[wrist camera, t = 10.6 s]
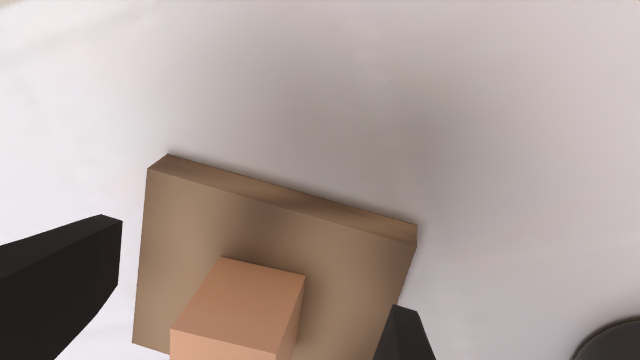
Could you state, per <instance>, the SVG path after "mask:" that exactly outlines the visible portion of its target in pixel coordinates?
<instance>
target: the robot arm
mask: <svg viewBox="0 0 640 360" xmlns="http://www.w3.org/2000/svg"><path fill="white" fill-rule="evenodd" d="M122 224H123V221H121V220H118V219H115V218H111V217H108V216H105V215H102V214H100V215H96V216H93V217H89V218H86V219H83V220H79V221H76V222H73V223H70V224H67V225H64V226H61V227H58V228H55V229H52V230H49V231H46V232H43V233H40V234H37V235H34V236H31V237H28V238H25V239H21V240H18V241H14V242H11V243H8V244H4V245H1V246H0V360H54V359H55V358H56V357H57V356H58V355H59V354H60V353H61V352H62V351H63V350H64V349H65V348H66V347H67V346H68V345H69V344H70V343H71V342H72V340H73V339H74V338H75V337H76V336H77V335H78V334H79V333H80V332H81V331H82V330H83V329H84V328H85V327H86V326H87V324H88V323H89V322H90V321H91V320H92V319H93V318H94V317H95V316H96V314H97V313H98V312H99V310H100V309H101V308H102V306H103V305H104V304H105V302H106V301H107V299H108V298H109V297H110V295H111V294H112V292H113V291H114V289H115V288H116V287H117V285H118V276H119V263H120V250H121V237H122ZM373 360H436V358H435V356H434V353H433V351H432V349H431V346H430V344H429V341H428V338H427V336H426V333H425V331H424V328H423V325H422V322H421V319H420V316H419V315H418V313H417V311H414V310H411V309H408V308H404V307H401V306H398V305H395V304H392V307H391V310H390V313H389V316H388V318H387V321H386V324H385V327H384V329H383V332H382V335H381V338H380V340H379V343H378V346H377V349H376V351H375V354H374V357H373Z"/></svg>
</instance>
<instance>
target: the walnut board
mask: <svg viewBox="0 0 640 360" xmlns="http://www.w3.org/2000/svg"><path fill="white" fill-rule="evenodd" d="M416 248H417V225H413V224H410V223H406V222H403V221H399V220H396V219H393V218H389V217H386V216H382V215H379V214H375V213H372V212H368V211H365V210H361V209H358V208H354V207H351V206H347V205H344V204H340V203H337V202H333V201H330V200H326V199H323V198H319V197H316V196H312V195H309V194H305V193H302V192H298V191H295V190H291V189H288V188H284V187H281V186H277V185H274V184H270V183H267V182H263V181H260V180H256V179H253V178H249V177H246V176H242V175H239V174H235V173H232V172H228V171H225V170H221V169H218V168H214V167H211V166H207V165H204V164H200V163H197V162H193V161H190V160H186V159H183V158H179V157H176V156H172V155H169V154H167V155H165V156H164V157H163V158H161V159H160V160H158V161H157V162H156V163H154V164H153V165H151V166H150V167H149V168H147V178H146V189H145V201H144V212H143V223H142V234H141V246H140V257H139V268H138V279H137V291H136V302H135V313H134V324H133V336H132V343H134V344H137V345H140V346H143V347H147V348H150V349H153V350H156V351H159V352H162V353H165V354H168V355H170V328H171V327H172V325H173V324H174V322H175V321H176V320H177V318H178V317H179V315H180V314H181V312H182V311H183V309H184V308H185V307H186V305H187V304H188V302H189V301H190V299H191V298H192V296H193V295H194V294H195V292H196V291H197V289H198V288H199V286H200V285H201V283H202V282H203V281H204V279H205V278H206V276H207V275H208V273H209V272H210V270H211V269H212V268H213V266H214V265H215V263H216V262H217V260H218V259H219V257H224V258H229V259H233V260H238V261H242V262H247V263H251V264H256V265H260V266H265V267H270V268H274V269H279V270H283V271H288V272H292V273H297V274H301V275H306V278H305V285H304V292H303V299H302V306H301V314H300V321H299V328H298V335H297V342H296V346H295V349H294V352H293V355H292V358H291V360H373V357H374V354H375V351H376V349H377V346H378V343H379V340H380V338H381V335H382V332H383V329H384V327H385V324H386V321H387V318H388V316H389V313H390V310H391V307H392V304H395V305H396V304H397V301H398V298H399V296H400V293H401V290H402V287H403V284H404V281H405V279H406V276H407V273H408V270H409V267H410V265H411V262H412V259H413V256H414V253H415V250H416Z"/></svg>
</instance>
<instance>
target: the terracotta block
mask: <svg viewBox="0 0 640 360" xmlns="http://www.w3.org/2000/svg"><path fill="white" fill-rule="evenodd" d="M305 278H306V275H301V274H297V273H292V272H288V271H283V270H279V269H274V268H270V267H265V266H260V265H256V264H251V263H247V262H242V261H238V260H233V259H229V258H224V257H219V259H218V260H217V262H216V263H215V265H214V266H213V268H212V269H211V270H210V272H209V273H208V275H207V276H206V278H205V279H204V281H203V282H202V283H201V285H200V286H199V288H198V289H197V291H196V292H195V294H194V295H193V296H192V298H191V299H190V301H189V302H188V304H187V305H186V307H185V308H184V309H183V311H182V312H181V314H180V315H179V317H178V318H177V320H176V321H175V322H174V324H173V325H172V327H171V328H170V360H291V358H292V355H293V352H294V349H295V346H296V342H297V335H298V328H299V321H300V314H301V306H302V299H303V292H304V285H305Z"/></svg>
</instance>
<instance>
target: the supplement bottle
mask: <svg viewBox="0 0 640 360" xmlns="http://www.w3.org/2000/svg"><path fill="white" fill-rule="evenodd" d="M574 360H640V320H637V321H631V322H626V323H623V324H619V325H616V326H613V327H611V328H609V329H606V330H605V331H603V332H601V333H599V334H598V335H596V336H595V337H593V338H592V339H591V340H589V341H588V342H587V343H586V344H585V345H584V346H583V347H582V348H581V350H580V351H579V352H578V354H577V355H576V357H575V359H574Z"/></svg>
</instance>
